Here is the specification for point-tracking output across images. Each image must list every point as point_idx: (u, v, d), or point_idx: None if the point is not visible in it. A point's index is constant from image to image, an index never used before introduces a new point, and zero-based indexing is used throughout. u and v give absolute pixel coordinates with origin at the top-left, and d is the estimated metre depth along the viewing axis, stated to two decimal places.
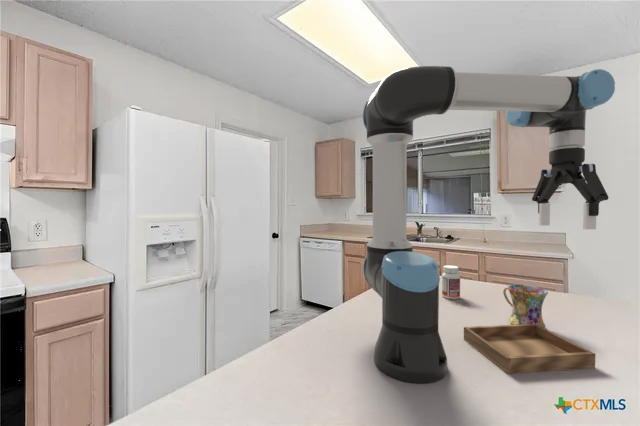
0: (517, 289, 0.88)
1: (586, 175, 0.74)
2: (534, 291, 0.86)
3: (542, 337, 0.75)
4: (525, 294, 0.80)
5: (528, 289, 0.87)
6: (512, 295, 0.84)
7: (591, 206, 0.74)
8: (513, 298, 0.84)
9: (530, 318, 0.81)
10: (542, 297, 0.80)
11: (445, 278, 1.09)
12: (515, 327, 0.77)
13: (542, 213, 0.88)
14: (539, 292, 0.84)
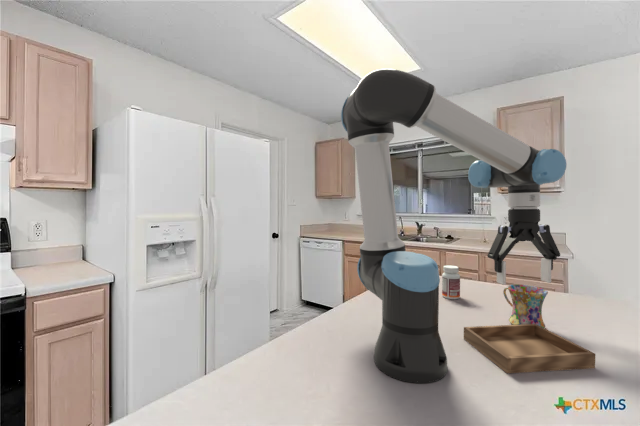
0: (517, 289, 0.88)
1: None
2: (534, 291, 0.86)
3: (542, 337, 0.75)
4: (525, 294, 0.80)
5: (528, 289, 0.87)
6: (512, 295, 0.84)
7: None
8: (513, 298, 0.84)
9: (530, 318, 0.81)
10: (542, 297, 0.80)
11: (445, 278, 1.09)
12: (515, 327, 0.77)
13: (541, 268, 0.87)
14: (539, 292, 0.84)
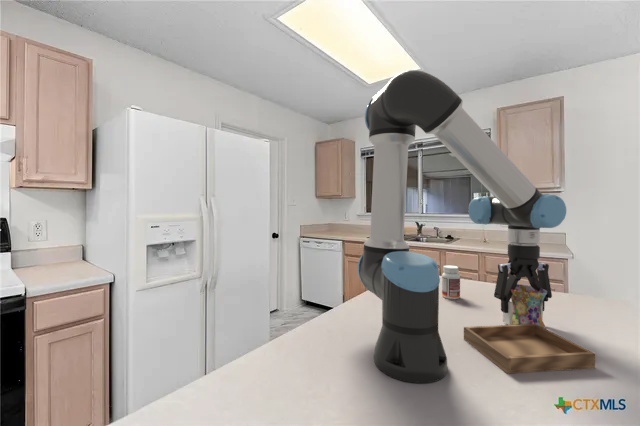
0: (516, 289, 0.87)
1: None
2: (533, 291, 0.86)
3: (542, 337, 0.75)
4: (524, 294, 0.80)
5: (527, 289, 0.87)
6: None
7: None
8: (512, 298, 0.84)
9: (529, 318, 0.81)
10: (541, 297, 0.80)
11: (445, 278, 1.09)
12: (515, 327, 0.77)
13: None
14: (538, 292, 0.84)
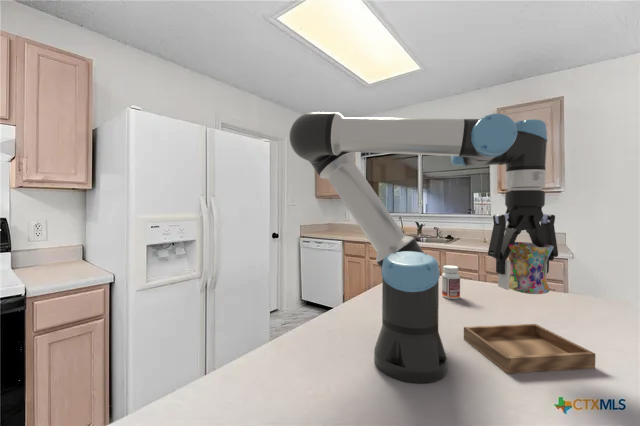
0: None
1: None
2: None
3: (542, 337, 0.75)
4: (526, 249, 0.64)
5: (529, 247, 0.71)
6: None
7: None
8: (511, 256, 0.68)
9: (531, 279, 0.65)
10: (547, 252, 0.64)
11: (445, 278, 1.09)
12: (515, 327, 0.77)
13: None
14: None
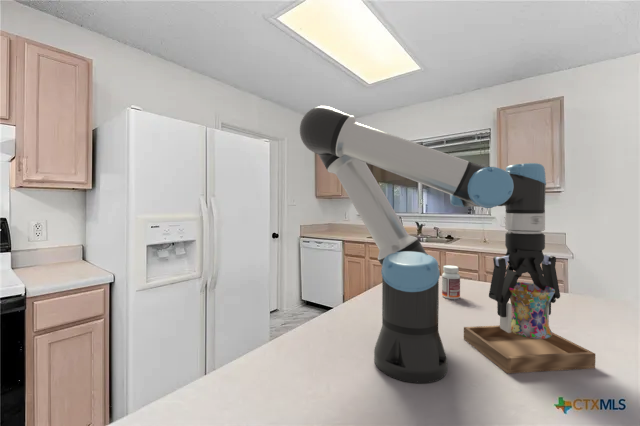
0: (517, 288, 0.71)
1: None
2: (537, 290, 0.69)
3: None
4: (527, 294, 0.64)
5: (530, 288, 0.70)
6: None
7: None
8: (512, 299, 0.68)
9: (533, 324, 0.64)
10: (548, 297, 0.64)
11: (445, 278, 1.09)
12: None
13: None
14: (544, 291, 0.68)
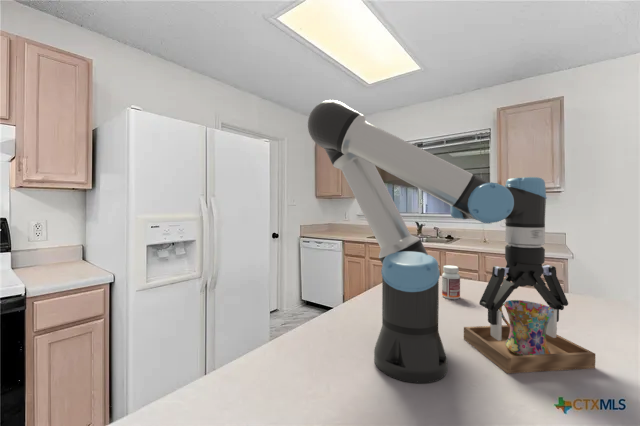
0: (516, 306, 0.71)
1: None
2: (536, 309, 0.69)
3: None
4: (525, 314, 0.64)
5: (529, 306, 0.71)
6: (509, 314, 0.68)
7: None
8: (511, 318, 0.68)
9: (531, 344, 0.65)
10: (547, 318, 0.64)
11: (445, 278, 1.09)
12: None
13: None
14: (543, 310, 0.68)
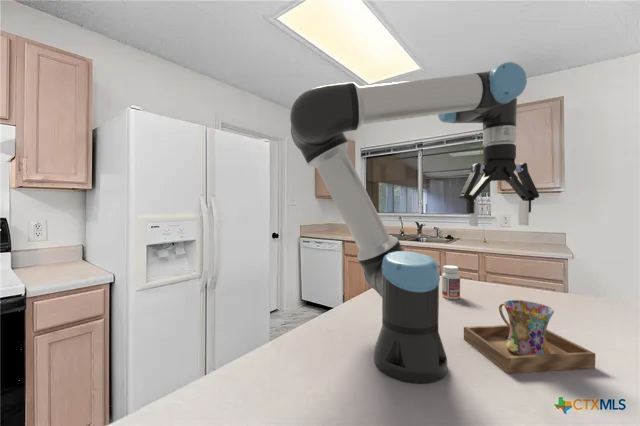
0: (516, 306, 0.71)
1: None
2: (536, 309, 0.69)
3: None
4: (525, 314, 0.64)
5: (529, 306, 0.71)
6: (509, 314, 0.68)
7: None
8: (510, 318, 0.68)
9: (531, 344, 0.65)
10: (547, 318, 0.64)
11: (445, 278, 1.09)
12: None
13: (519, 211, 0.81)
14: (543, 310, 0.68)
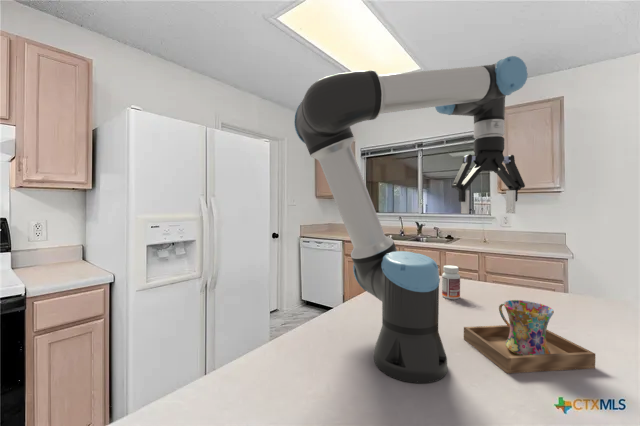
0: (516, 306, 0.71)
1: None
2: (536, 309, 0.69)
3: None
4: (525, 314, 0.64)
5: (529, 306, 0.71)
6: (509, 314, 0.68)
7: None
8: (510, 318, 0.68)
9: (531, 344, 0.65)
10: (547, 318, 0.64)
11: (445, 278, 1.09)
12: None
13: (506, 200, 0.86)
14: (543, 310, 0.68)
